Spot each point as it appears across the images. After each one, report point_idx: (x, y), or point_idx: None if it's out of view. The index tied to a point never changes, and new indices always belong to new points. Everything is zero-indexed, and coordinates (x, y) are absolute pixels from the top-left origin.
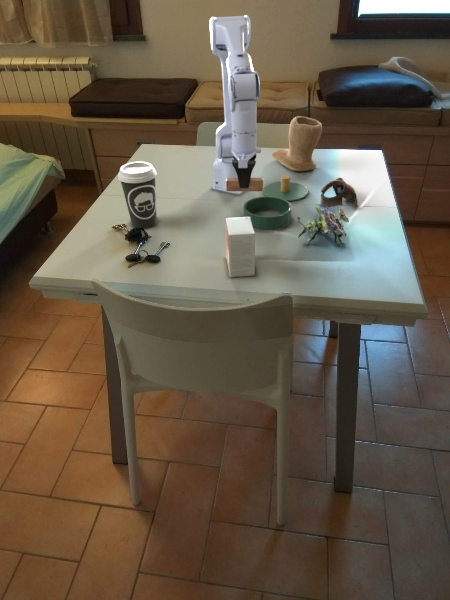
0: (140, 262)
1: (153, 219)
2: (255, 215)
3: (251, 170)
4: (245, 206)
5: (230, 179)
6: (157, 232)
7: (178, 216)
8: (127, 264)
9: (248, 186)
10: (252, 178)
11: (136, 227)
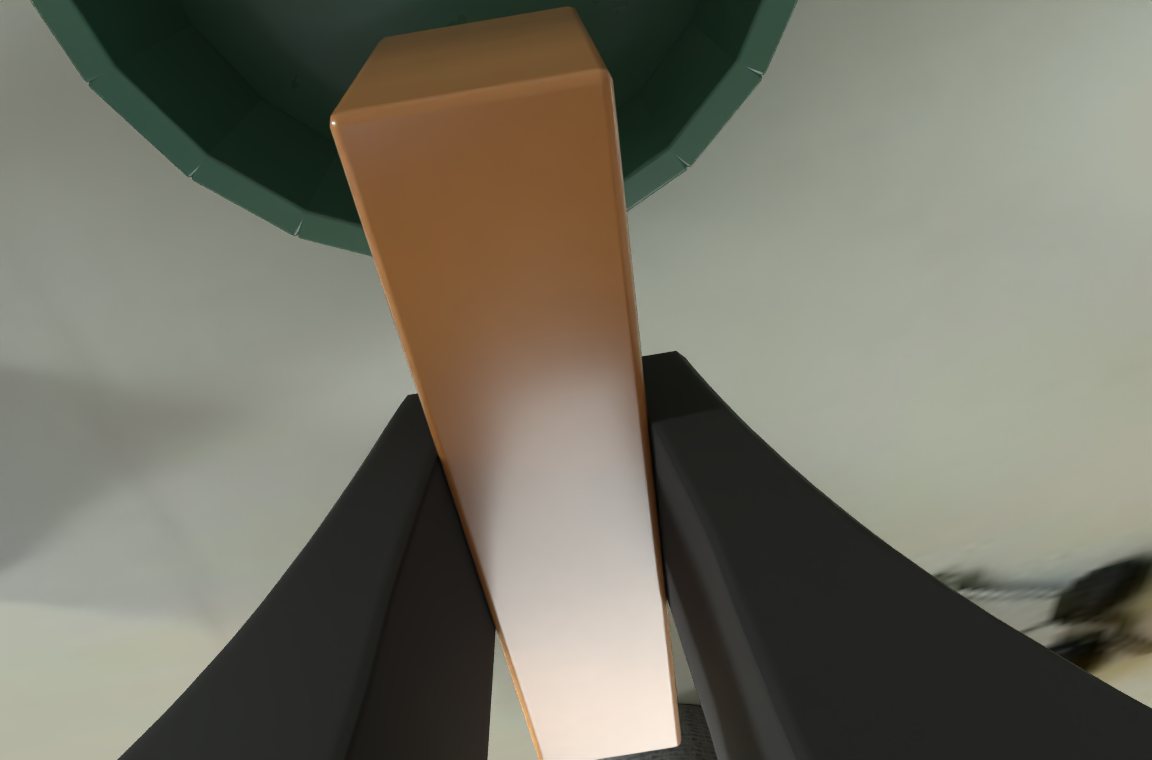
0: (1121, 626)
1: (700, 743)
2: (773, 33)
3: (1105, 702)
4: None
5: (622, 718)
6: None
7: None
8: (1124, 662)
9: (695, 370)
10: (485, 402)
11: None
